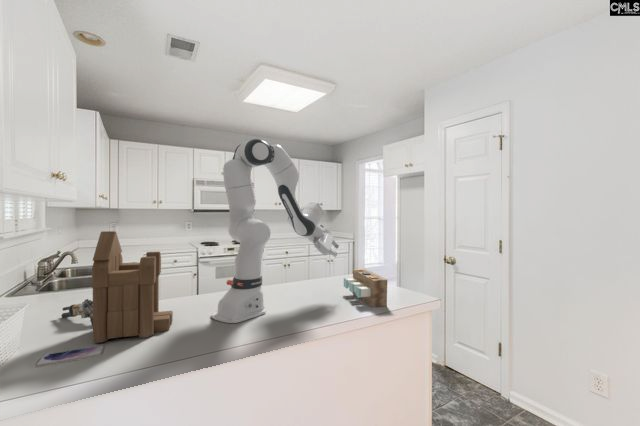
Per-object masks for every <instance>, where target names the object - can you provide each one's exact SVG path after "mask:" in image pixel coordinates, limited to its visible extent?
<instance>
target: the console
mask: <svg viewBox="0 0 640 426" xmlns="http://www.w3.org/2000/svg"><path fill="white" fill-rule="evenodd" d="M352 278H356V279H358V282H363V283H364V287H366V286H369V287H371V296H369V297H361V298H360V299H361V300H363V302H365V303H367V304H368V305H369V306H371V308H372V307H373V308H377V307H378V308H379V307H381V308H382V307H387V306H388V279H386V278H385V277H383V276H380V275H379V274H376V273H375V272H372V270H371V271H370V270H369V269H367V268H354V269H352ZM353 294H355V295H356V292H354V293H353Z"/></svg>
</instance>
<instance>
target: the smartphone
mask: <svg viewBox="0 0 640 426" xmlns="http://www.w3.org/2000/svg"><path fill="white" fill-rule="evenodd" d="M105 348H106V346H105V345H102V344H101V345H97V346H90V347H84V348H78V349H72V350H66V351H60V352H54V353H49V354H43V355H41V356H40V358H39V359H38V361H37V362H36V363H35V365H34V368H42V367H46V366H51V365H52V366H53V365H57V364H63V363H70V362H73V361H75V362H76V361H80V360H87V359H91V358H97V356H98V357H100V356H102V355H103V354H104V353H103V352H104V349H105Z"/></svg>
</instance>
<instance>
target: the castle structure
mask: <svg viewBox="0 0 640 426" xmlns="http://www.w3.org/2000/svg"><path fill="white" fill-rule="evenodd" d="M122 253H123V250H122V247H121V243H120V241H119V238H118V234H117V231H115V230H113V231H111V230H110V231H107V230H106V231H101V232H100V233H99V236H98V239H97V243H96V247H95V251H94V254H93V257H92V261H93V264H92V265H91V267H92V268H91V288H92V301H93V326H92V342H93V343H95V344H98V343H99V344H101V343H104V342H106V341H108V340H109V339H115V338H127V337H135V336H138V337H139V338H142V339H143V338H149V337H151V336H153V335H154V333H159V331H160V332H167V331H169V330H170V328H171V326H172V323H173V313H174V312H173V310H166V311H159V306H160V305H159V299H160V298H159V297H160V295H159V292H160V291H159V288H160V287H159V286H160V285H159V283H160V280H159V279H160V275H161V273H162V254H161V252H160V251H147V252H146V255H145V256H142V257H140V259H139V260H140V261H139V262H123V255H122Z"/></svg>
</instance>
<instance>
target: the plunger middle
mask: <svg viewBox="0 0 640 426" xmlns="http://www.w3.org/2000/svg"><path fill="white" fill-rule="evenodd" d="M356 286H358V287H364V283H363V282H354V283H352V282H349V287H348V290H349V292H350V293H352V294H355V293H354V292H356Z"/></svg>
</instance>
